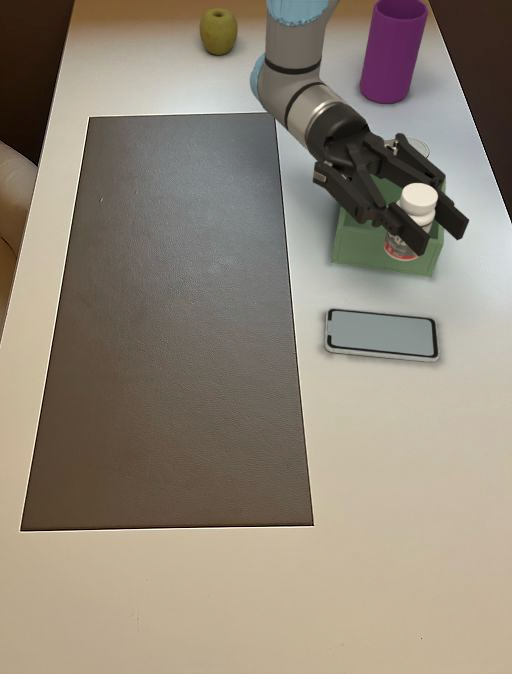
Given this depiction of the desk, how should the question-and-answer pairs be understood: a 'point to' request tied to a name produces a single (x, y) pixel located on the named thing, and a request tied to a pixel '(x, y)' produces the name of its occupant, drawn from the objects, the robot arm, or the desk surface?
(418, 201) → the pill bottle
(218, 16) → the apple
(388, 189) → the open storage box
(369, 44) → the mug
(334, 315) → the smartphone
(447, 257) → the desk surface
